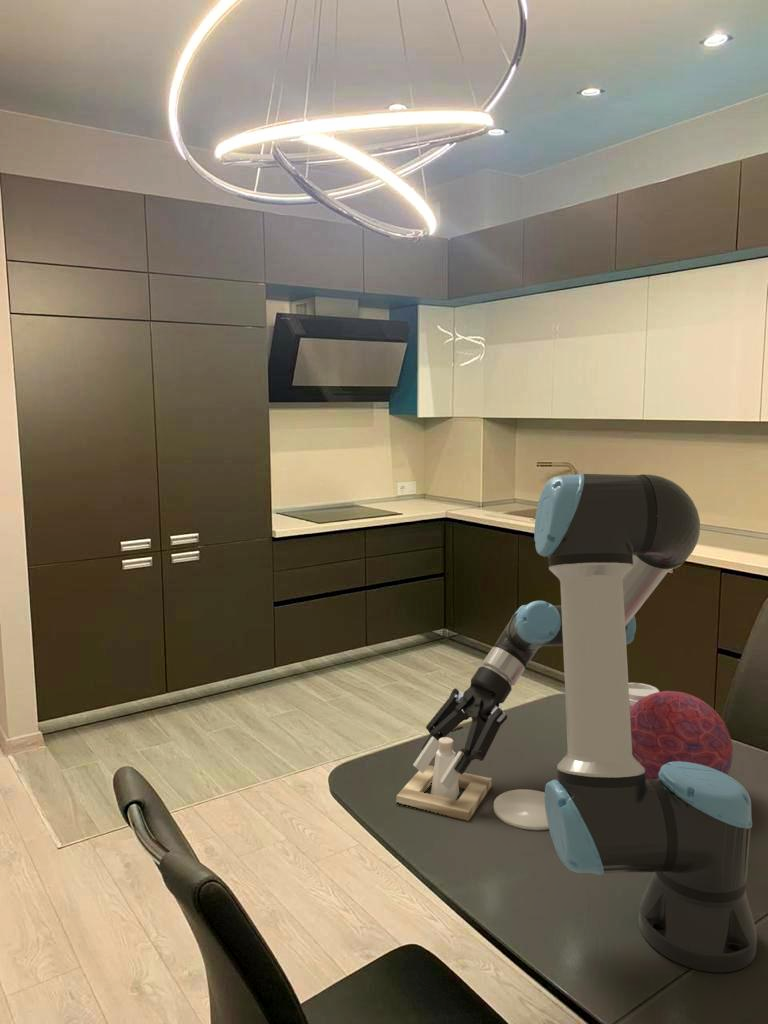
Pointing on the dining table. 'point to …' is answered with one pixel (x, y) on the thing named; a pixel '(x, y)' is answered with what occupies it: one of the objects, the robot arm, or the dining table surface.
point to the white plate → (522, 809)
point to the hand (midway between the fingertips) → (431, 777)
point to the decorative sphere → (678, 733)
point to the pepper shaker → (444, 769)
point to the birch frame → (458, 808)
